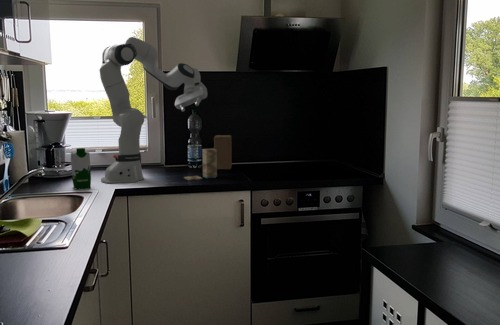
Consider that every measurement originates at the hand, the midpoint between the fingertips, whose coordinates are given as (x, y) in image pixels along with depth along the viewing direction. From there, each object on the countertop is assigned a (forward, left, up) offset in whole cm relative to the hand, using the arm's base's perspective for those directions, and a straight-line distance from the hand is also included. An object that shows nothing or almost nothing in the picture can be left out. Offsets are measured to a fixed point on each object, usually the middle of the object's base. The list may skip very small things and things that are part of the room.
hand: (189, 107), depth 272 cm
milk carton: (-60, -7, -38) cm, 72 cm away
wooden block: (+27, +14, -38) cm, 49 cm away
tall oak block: (+8, -10, -38) cm, 40 cm away
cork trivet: (-2, -10, -38) cm, 39 cm away
